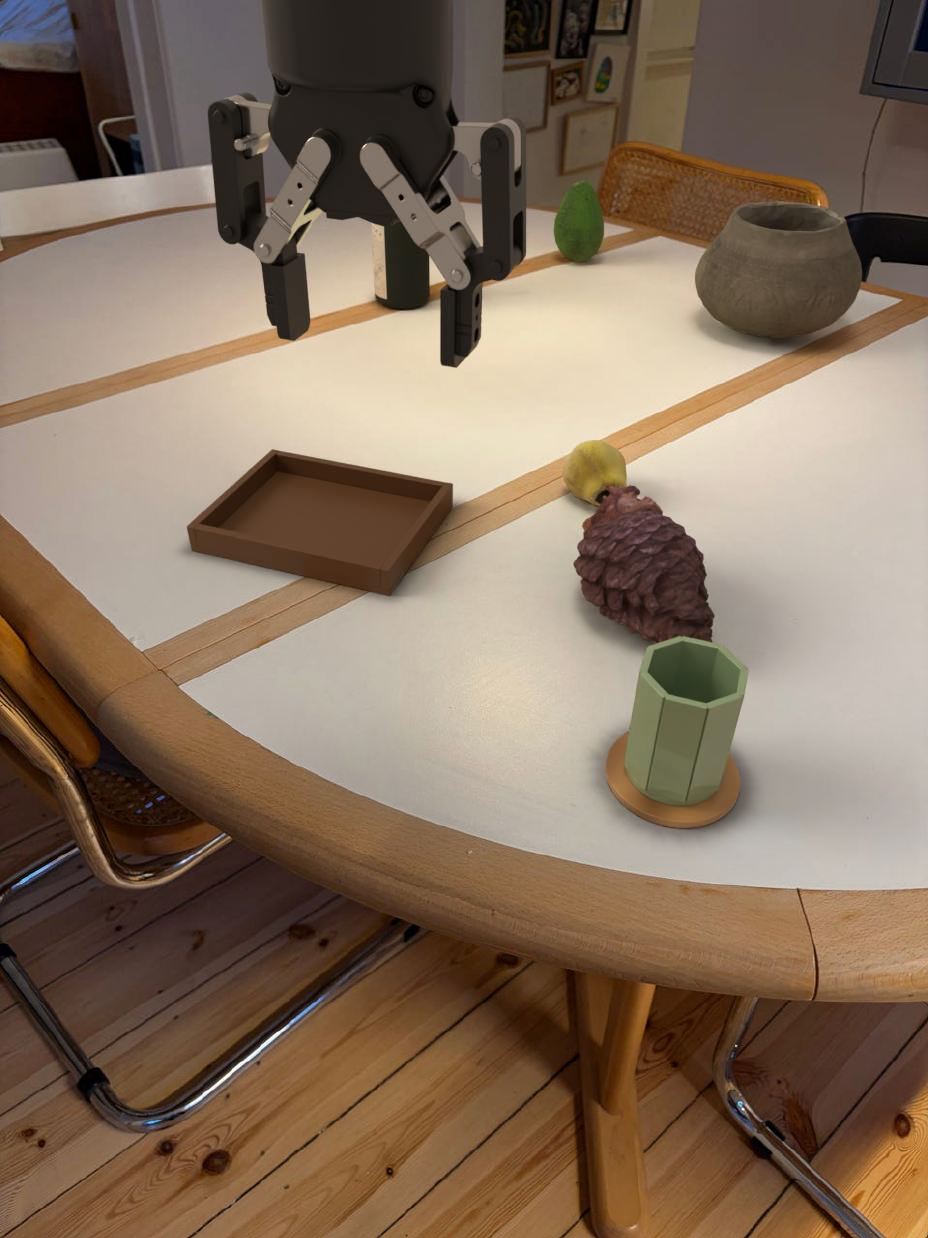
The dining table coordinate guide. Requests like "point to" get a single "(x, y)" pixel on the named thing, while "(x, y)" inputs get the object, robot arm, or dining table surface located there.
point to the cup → (684, 720)
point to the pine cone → (643, 569)
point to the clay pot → (780, 270)
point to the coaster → (663, 812)
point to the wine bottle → (399, 268)
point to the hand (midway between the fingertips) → (373, 347)
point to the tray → (324, 520)
